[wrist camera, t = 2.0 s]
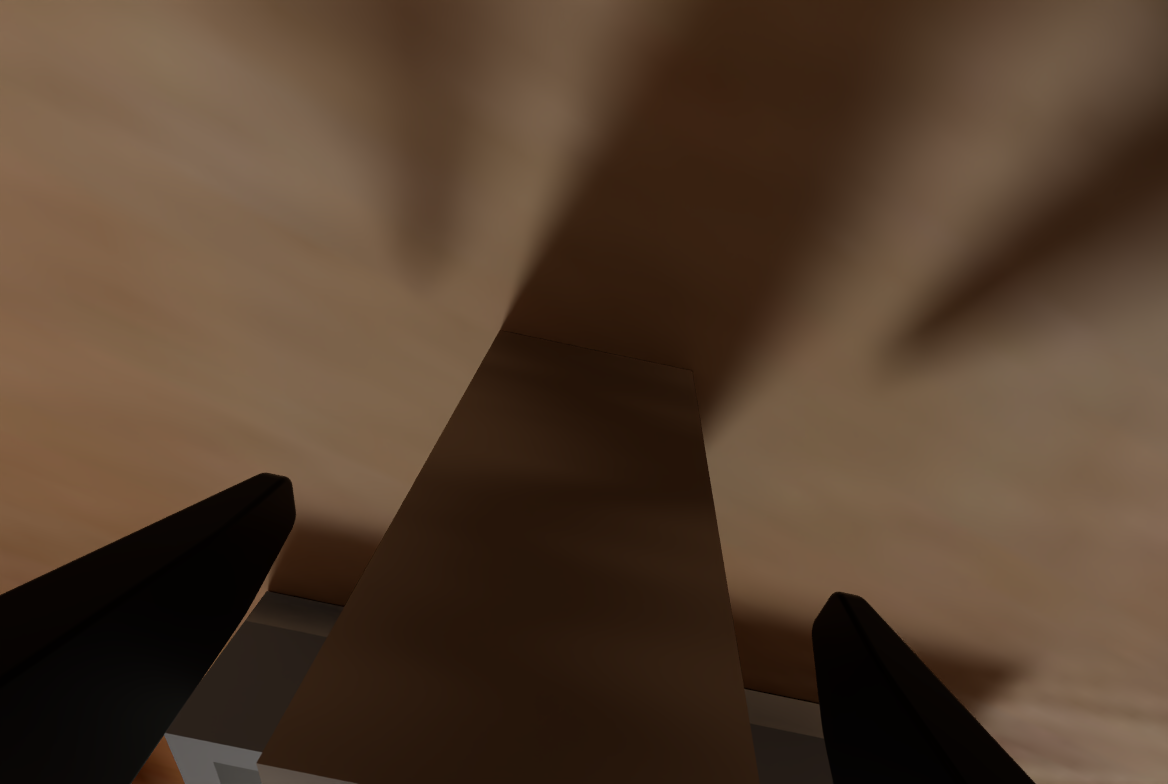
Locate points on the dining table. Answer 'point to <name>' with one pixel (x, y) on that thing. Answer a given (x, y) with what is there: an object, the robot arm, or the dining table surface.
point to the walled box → (290, 645)
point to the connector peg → (538, 598)
